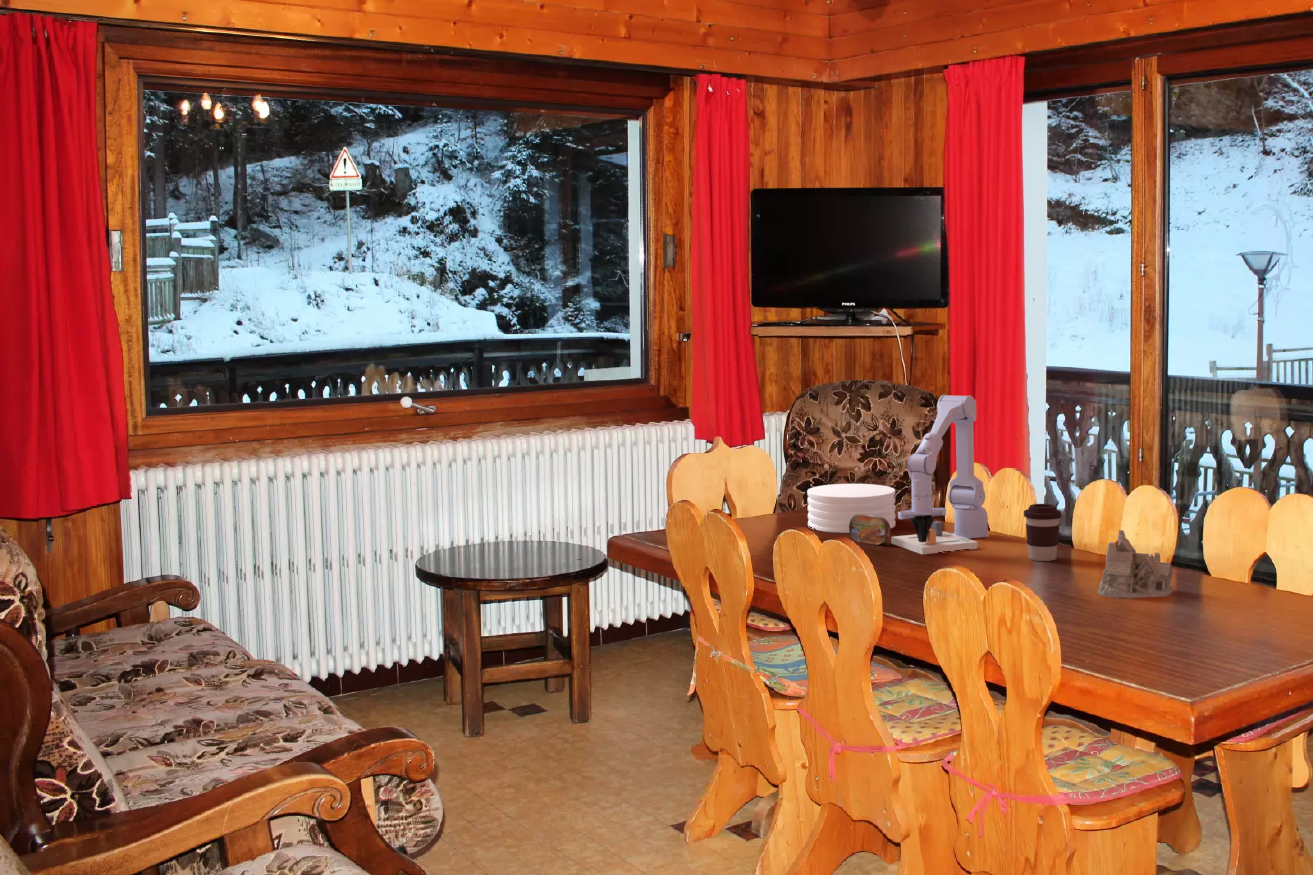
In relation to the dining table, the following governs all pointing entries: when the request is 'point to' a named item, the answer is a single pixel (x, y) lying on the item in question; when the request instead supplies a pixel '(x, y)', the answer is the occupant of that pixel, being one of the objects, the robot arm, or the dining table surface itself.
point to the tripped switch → (931, 537)
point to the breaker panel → (942, 544)
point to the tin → (869, 529)
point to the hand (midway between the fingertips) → (922, 541)
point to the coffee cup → (1042, 531)
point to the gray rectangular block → (937, 527)
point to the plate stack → (848, 505)
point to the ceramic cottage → (1134, 572)
